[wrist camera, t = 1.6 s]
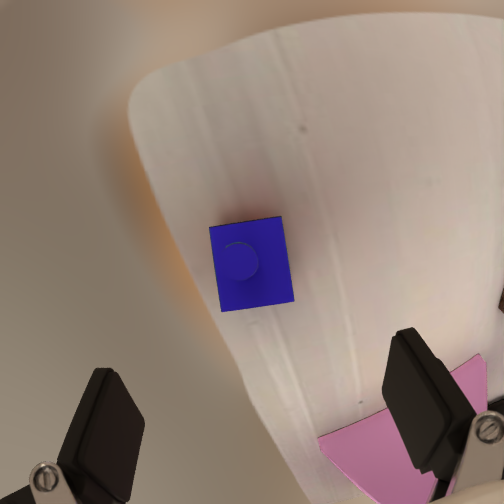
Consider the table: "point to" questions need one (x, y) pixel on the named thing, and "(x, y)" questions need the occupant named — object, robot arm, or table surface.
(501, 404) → the phone
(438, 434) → the robot arm
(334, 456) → the pink table lamp
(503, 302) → the doll bed
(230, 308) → the toy building block
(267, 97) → the table surface
